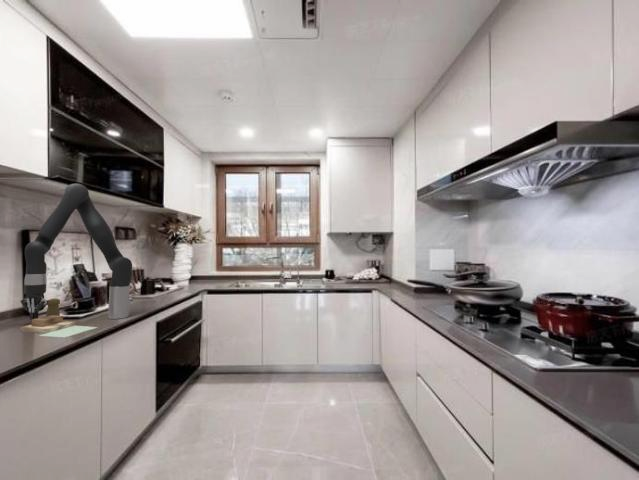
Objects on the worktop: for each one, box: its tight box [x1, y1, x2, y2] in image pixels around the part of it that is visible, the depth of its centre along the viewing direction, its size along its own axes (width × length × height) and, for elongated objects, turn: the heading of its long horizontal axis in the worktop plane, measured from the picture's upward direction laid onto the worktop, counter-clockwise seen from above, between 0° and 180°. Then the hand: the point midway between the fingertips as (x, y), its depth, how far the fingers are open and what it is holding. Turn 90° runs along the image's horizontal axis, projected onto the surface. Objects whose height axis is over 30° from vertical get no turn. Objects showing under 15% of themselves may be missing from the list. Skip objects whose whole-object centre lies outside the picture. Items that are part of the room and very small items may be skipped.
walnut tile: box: [30, 315, 64, 327], centre depth 136 cm, size 9×6×3 cm, turn 173°
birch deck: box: [20, 320, 77, 334], centre depth 136 cm, size 13×14×2 cm
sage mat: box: [38, 325, 99, 339], centre depth 131 cm, size 16×12×1 cm
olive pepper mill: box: [45, 298, 61, 317], centre depth 150 cm, size 6×6×11 cm
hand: (33, 320), depth 137 cm, fingers closed
